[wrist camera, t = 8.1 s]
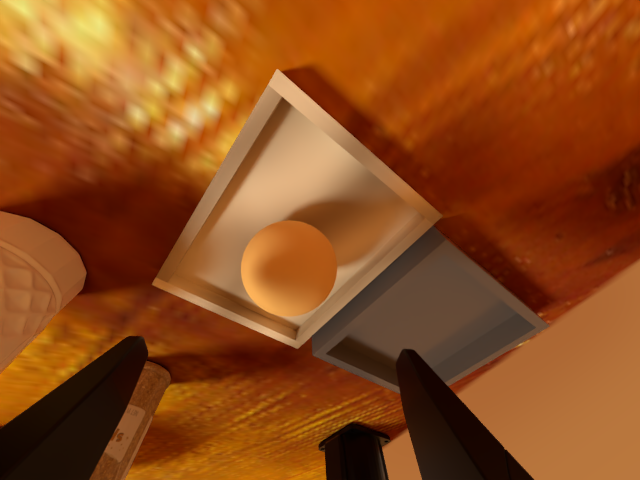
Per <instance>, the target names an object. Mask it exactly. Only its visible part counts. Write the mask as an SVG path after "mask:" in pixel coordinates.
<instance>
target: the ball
mask: <svg viewBox="0 0 640 480" xmlns="http://www.w3.org/2000/svg"><path fill="white" fill-rule="evenodd" d="M336 276H337V260H336V255H335V252H334V249H333V247H332V245H331V243H330V242H329V240H328V239H327V238H326V236H325V235H323V234H322V233H321V232H320V231H319V230H318V229H316V228H315V227H313V226H311V225H309V224H307V223H304V222H300V221H290V220H288V221H280V222H276V223H273V224H270V225H268V226H266V227H265V228H263V229H262V230H260V231H259V232H258V233H257V234H255V236H254V237H253V238H252V239H251V240H250V242H249V243H248V245H247V247H246V249H245V251H244V253H243V257H242V262H241V277H242V281H243V285H244V287H245V289H246V291H247V293H248V295H249V296H250V298H251V299H252V300H253V301H254V302H255V303H256V304H257V305H258V306H259V307H260V308H262V309H263V310H265V311H267V312H269V313H271V314H274V315H278V316H285V317H292V316H299V315H303V314H306V313H308V312H310V311H312V310H314V309H315V308H317V307H318V306H319V305H320V304H322V303H323V302H324V301H325V299H326V298H327V297H328V295H329V294H330V292H331V291H332V289H333V287H334V284H335V280H336Z"/></svg>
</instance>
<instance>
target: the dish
mask: <svg viewBox="0 0 640 480" xmlns="http://www.w3.org/2000/svg"><path fill="white" fill-rule="evenodd" d="M547 327H549V325H548V324H547V323H546V322H545V321H544V320H543V319H542V318H541V317H540V316H539V315H538V314H536V313H535V312H534V311H533V310H532V309H531V308H530V307H529V306H528V305H527V304H526V303H525V302H524V301H522V300H521V299H520V298H519V297H518V296H516V295H515V294H514V293H513V292H512V291H511V290H509V289H508V288H507V287H506V286H505V285H503V284H502V283H501V282H500V281H499V280H498V279H496V278H495V277H494V276H493V275H492V274H490V273H489V272H488V271H487V270H486V269H485V268H483V267H482V266H481V265H480V264H479V263H477V262H476V261H475V260H474V259H473V258H472V257H470V256H469V255H468V254H467V253H466V252H465V251H463V250H462V249H461V248H460V247H459V246H457V245H456V244H455V243H454V242H453V241H452V240H450V239H449V238H448V237H447V236H446V235H444V234H443V233H442V232H441V231H440V230H439V229H437V228H436V227H435V226H434V225H433V226H432V227H431V228H429V229H428V230H427V231H426V232H425V233H424V234H423V235H422V236H421V237H420V238H418V239H417V240H416V241H415V242H414V243H413V244H412V245H411V246H410V247H409V248H408V249H406V250H405V251H404V252H403V253H402V254H401V255H400V256H399V257H398V258H397V259H395V260H394V261H393V262H392V263H391V264H390V265H389V266H388V267H387V268H386V269H385V270H383V271H382V272H381V273H380V274H379V275H378V276H377V277H376V278H375V279H374V280H372V281H371V282H370V283H369V284H368V285H367V286H366V287H365V288H364V289H363V290H362V291H360V292H359V293H358V294H357V295H356V296H355V297H354V298H353V299H352V300H351V301H349V302H348V303H347V304H346V305H345V306H344V307H343V308H342V309H341V310H340V311H339V312H337V313H336V314H335V315H334V316H333V317H332V318H331V319H330V320H329V321H328V322H326V323H325V324H324V325H323V326H322V327H321V328H320V329H319V330H318V331H317V332H316V333H314V334H313V335H312V355H313V356H315V357H317V358H319V359H322V360H324V361H326V362H329V363H331V364H333V365H335V366H338V367H340V368H342V369H344V370H347V371H349V372H351V373H354V374H356V375H358V376H360V377H363V378H365V379H367V380H369V381H372V382H374V383H376V384H379V385H381V386H383V387H385V388H388V389H390V390H392V391H394V392H397V393H399V394H400V389H399V384H398V378H397V372H396V361H397V359H398V356H399V354H400V352H401V350H402V349H413V350H415V351H416V352H417V353H418V354H419V355H420V356H421V357H422V359H423V360H424V361H425V362H426V363H427V364H428V365H429V366H430V367H431V368H432V369H433V370H434V372H435V373H436V374H437V375H438V376H439V377H440V378H441V379H442V380H443V381H444V382H445V384H446V385H447V386H449V385H451V384H453V383H454V382H456V381H458V380H460V379H461V378H463V377H465V376H466V375H468V374H470V373H471V372H473V371H475V370H476V369H478V368H480V367H482V366H483V365H485V364H487V363H488V362H490V361H492V360H493V359H495V358H497V357H498V356H500V355H502V354H503V353H505V352H507V351H509V350H510V349H512V348H514V347H515V346H517V345H519V344H520V343H522V342H524V341H525V340H527V339H529V338H531V337H532V336H534V335H536V334H537V333H539V332H541V331H542V330H544V329H546V328H547Z"/></svg>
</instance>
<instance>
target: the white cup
mask: <svg viewBox="0 0 640 480" xmlns="http://www.w3.org/2000/svg"><path fill="white" fill-rule="evenodd" d="M86 274H87V272H86V269H85V267H84V264H83V262H82V260H81V257H80V255H79V253H78V252H77V251H76V250H75V249H74V248H73V247H72V246H71V245H70V244H69V243H68V242H67V241H66V240H65V239H64V238H63V237H62V236H61V235H59V234H58V233H56V232H54V231H53V230H51V229H49V228H47V227H45V226H44V225H42V224H40V223H38V222H36V221H34V220H33V219H31V218H27V217H23V216H19V215H15V214H11V213H7V212H3V211H0V374H1V373H2V372H3V371H4V370H5V369H6V368H7V367H8V366H9V365H10V364H11V363H12V362H13V360H14V359H15V358H16V357H17V356H18V355H19V354H20V353H21V352H22V351H23V349H24V348H25V347H26V346H28V345H29V344H30V343H31V342H32V341H33V340H34V339H35V338H36V337H37V336H38V335H39V334H40V333H41V332H42V331H43V330H44V329H45V327H46V326H47V324H48V323H49V322H50V320H51V319H52V318H53V317H54V316H55V315H56V314H57V313H58V312H59V311H60V310H61V309H62V308H63V307H64V306H65V305H67V304H68V303H69V302H70V301H71V300H72V299H73V298H74V297H75V296H76V295H77V294H78V293H79V292H80V291H81V290H82V289H83V286H84V282H85V278H86Z"/></svg>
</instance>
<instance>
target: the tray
mask: <svg viewBox="0 0 640 480" xmlns="http://www.w3.org/2000/svg"><path fill="white" fill-rule="evenodd" d="M441 217H443V215H442V214H441V213H439V212H438V211H437V210H436V209H435V208H434V207H433V206H432V205H430V204H429V203H428V202H427V201H426V200H425V199H424V198H423V197H421V196H420V195H419V194H418V193H417V192H416V191H415V190H413V189H412V188H411V187H410V186H409V185H408V184H407V183H406V182H404V181H403V180H402V179H401V178H400V177H399V176H398V175H397V174H395V173H394V172H393V171H392V170H391V169H390V168H389V167H388V166H386V165H385V164H384V163H383V162H382V161H381V160H380V159H379V158H377V157H376V156H375V155H374V154H373V153H372V152H371V151H370V150H368V149H367V148H366V147H365V146H364V145H363V144H362V143H361V142H359V141H358V140H357V139H356V138H355V137H354V136H353V135H351V134H350V133H349V132H348V131H347V130H346V129H345V128H344V127H342V126H341V125H340V124H339V123H338V122H337V121H336V120H335V119H333V118H332V117H331V116H330V115H329V114H328V113H327V112H326V111H324V110H323V109H322V108H321V107H320V106H319V105H318V104H317V103H315V102H314V101H313V100H312V99H311V98H310V97H309V96H308V95H306V94H305V93H304V92H303V91H302V90H301V89H300V88H298V87H297V86H296V85H295V84H294V83H293V82H292V81H291V80H289V79H288V78H287V77H286V76H285V75H284V74H283V73H282V72H280V71H279V70H278V69H277V70H276V72H275V73H274V75H273V77H272V79H271V80H270V82H269V84H268V85H267V87H266V89H265V91H264V92H263V94H262V96H261V97H260V99H259V101H258V103H257V104H256V106H255V108H254V109H253V111H252V113H251V115H250V116H249V118H248V120H247V121H246V123H245V125H244V127H243V128H242V130H241V132H240V134H239V135H238V137H237V139H236V140H235V142H234V144H233V146H232V147H231V149H230V151H229V152H228V154H227V156H226V158H225V159H224V161H223V163H222V164H221V166H220V168H219V170H218V171H217V173H216V175H215V176H214V178H213V180H212V182H211V183H210V185H209V187H208V188H207V190H206V192H205V194H204V195H203V197H202V199H201V200H200V202H199V204H198V206H197V207H196V209H195V211H194V212H193V214H192V216H191V218H190V219H189V221H188V223H187V224H186V226H185V228H184V230H183V231H182V233H181V235H180V236H179V238H178V240H177V242H176V243H175V245H174V247H173V248H172V250H171V252H170V254H169V255H168V257H167V259H166V261H165V262H164V264H163V266H162V267H161V269H160V271H159V273H158V274H157V276H156V278H155V279H154V281H153V283H152V285H153V286H156V287H158V288H160V289H162V290H165V291H167V292H169V293H171V294H174V295H176V296H178V297H181V298H183V299H185V300H187V301H190V302H192V303H194V304H197V305H199V306H201V307H203V308H206V309H208V310H210V311H212V312H215V313H217V314H219V315H222V316H224V317H226V318H228V319H231V320H233V321H235V322H237V323H240V324H242V325H244V326H247V327H249V328H251V329H253V330H256V331H258V332H260V333H262V334H265V335H267V336H269V337H272V338H274V339H276V340H278V341H281V342H283V343H285V344H287V345H290V346H292V347H294V348H297V349H298V348H299V347H300V346H301V345H302V344H303V343H305V342H306V341H307V340H308V339H309V338H310V337H311V336H312V335H313V334H314V333H316V332H317V331H318V330H319V329H320V328H321V327H322V326H323V325H324V324H325V323H326V322H328V321H329V320H330V319H331V318H332V317H333V316H334V315H335V314H336V313H337V312H339V311H340V310H341V309H342V308H343V307H344V306H345V305H346V304H347V303H348V302H349V301H351V300H352V299H353V298H354V297H355V296H356V295H357V294H358V293H359V292H360V291H362V290H363V289H364V288H365V287H366V286H367V285H368V284H369V283H370V282H371V281H372V280H374V279H375V278H376V277H377V276H378V275H379V274H380V273H381V272H382V271H383V270H385V269H386V268H387V267H388V266H389V265H390V264H391V263H392V262H393V261H394V260H395V259H397V258H398V257H399V256H400V255H401V254H402V253H403V252H404V251H405V250H406V249H408V248H409V247H410V246H411V245H412V244H413V243H414V242H415V241H416V240H417V239H418V238H420V237H421V236H422V235H423V234H424V233H425V232H426V231H427V230H428V229H429V228H431V227H432V226H433V225H434V224H435V223H436V222H437V221H438V220H439V219H440V218H441ZM288 220H290V221H300V222H304V223H307V224H309V225H311V226H313V227H315V228H316V229H318V230H319V231H320V232H321V233H322V234H323V235H325V236H326V238H327V239H328V240H329V242H330V243H331V245H332V247H333V249H334V252H335V255H336V260H337V276H336V280H335V284H334V287H333V289H332V291H331V292H330V294H329V295H328V297H327V298H326V299H325V301H324V302H323V303H322V304H320V305H319V306H318V307H317V308H315V309H314V310H312V311H310V312H308V313H306V314H303V315H299V316H292V317H285V316H278V315H274V314H271V313H269V312H267V311H265V310H263V309H262V308H260V307H259V306H258V305H257V304H256V303H255V302H254V301H253V300H252V299H251V298H250V296H249V295H248V293H247V291H246V289H245V287H244V285H243V281H242V277H241V262H242V257H243V253H244V251H245V249H246V247H247V245H248V243H249V242H250V240H251V239H252V238H253V237H254V236H255V234H257V233H258V232H259V231H260V230H262V229H263V228H265V227H266V226H268V225H270V224H273V223H276V222H280V221H288Z"/></svg>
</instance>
